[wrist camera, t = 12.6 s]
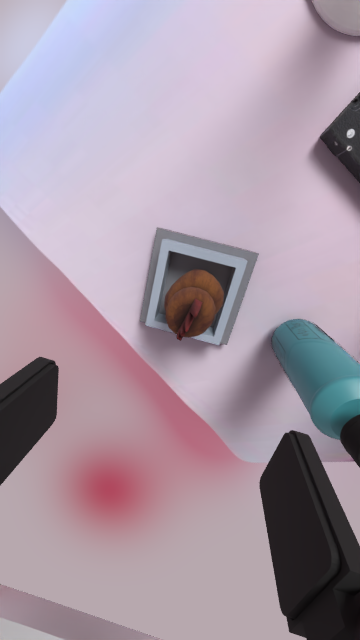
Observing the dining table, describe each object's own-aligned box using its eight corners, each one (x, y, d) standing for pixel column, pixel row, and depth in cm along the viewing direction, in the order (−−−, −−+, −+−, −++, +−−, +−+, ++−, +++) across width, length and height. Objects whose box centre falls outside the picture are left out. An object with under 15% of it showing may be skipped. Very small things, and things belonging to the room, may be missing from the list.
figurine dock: (256, 252, 30) (263, 255, 26) (226, 340, 35) (228, 355, 31) (159, 227, 31) (151, 226, 27) (142, 317, 36) (133, 329, 31)
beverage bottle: (259, 345, 35) (314, 476, 16) (281, 305, 32) (376, 405, 14) (300, 361, 35) (403, 510, 16) (326, 322, 32) (481, 444, 14)
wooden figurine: (202, 256, 30) (193, 277, 16) (230, 290, 31) (245, 338, 17) (163, 289, 32) (126, 334, 18) (191, 320, 33) (175, 385, 19)
